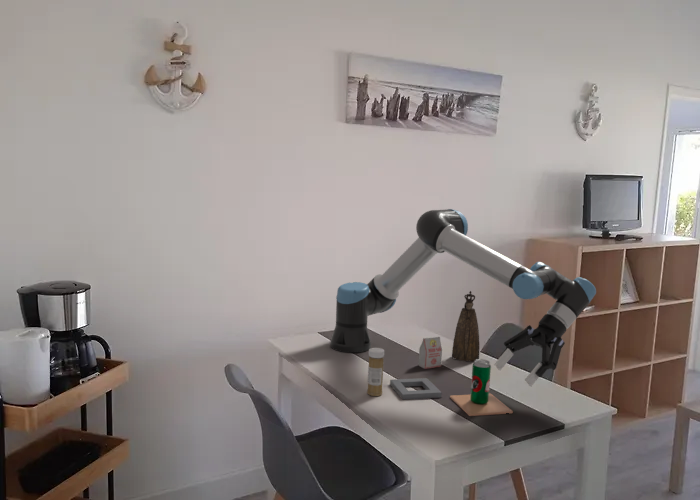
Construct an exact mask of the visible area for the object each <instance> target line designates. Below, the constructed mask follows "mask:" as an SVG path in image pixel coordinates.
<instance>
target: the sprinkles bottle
mask: <svg viewBox="0 0 700 500" xmlns="http://www.w3.org/2000/svg"><path fill="white" fill-rule="evenodd" d="M384 357H385V349H383V348H382V347H371V348H370V349H369V350H368V370H367V373H368V374H367V391H366V393H367V394H368V395H369V396H372V397H379V396H382V395H383V383H384V359H385V358H384Z"/></svg>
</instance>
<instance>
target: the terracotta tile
mask: <svg viewBox="0 0 700 500" xmlns="http://www.w3.org/2000/svg"><path fill="white" fill-rule="evenodd" d="M470 396H471V394H457V395H454V394H452V395H449V398H450V399H451V401H453V403H455V404H456V405H457V406H458V407H459V408H460V409H461V410H463V412H465V413H466V415H468V416H469V417H474V416H475V417H478V416H490V415H491V416H492V415H493V416H494V415H506V413H509V414H513V412H514V411H513V409H511V408H510V407H508V406H507V405H506V404H505V403H503V402H502V401H501V400H499V398H497V397H496V396H494V395H493V394H492V393H490V392H489V399H488V402H487V403H486V404H483V405H479V404H475V403H473V402H472V401H471V399H470Z"/></svg>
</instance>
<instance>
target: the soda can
mask: <svg viewBox="0 0 700 500" xmlns="http://www.w3.org/2000/svg"><path fill="white" fill-rule="evenodd" d="M491 370H492V366H491V362H490V361H489V360H487V359H483V358H479V359H476V360H474V361H473V362H472V369H471V371H472V372H471V384H470V395H471V396H470V399H471V401H472V402H473V403H475V404H479V405H483V404H486V403H487V402H488V399H489V393H490V385H491V373H492V372H491Z"/></svg>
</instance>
